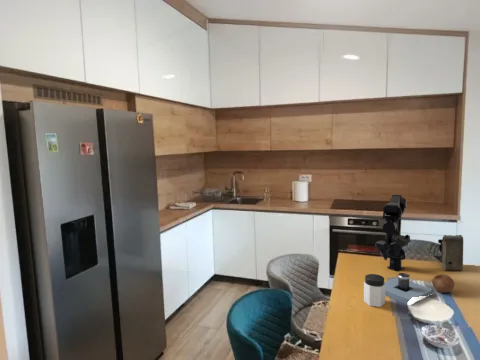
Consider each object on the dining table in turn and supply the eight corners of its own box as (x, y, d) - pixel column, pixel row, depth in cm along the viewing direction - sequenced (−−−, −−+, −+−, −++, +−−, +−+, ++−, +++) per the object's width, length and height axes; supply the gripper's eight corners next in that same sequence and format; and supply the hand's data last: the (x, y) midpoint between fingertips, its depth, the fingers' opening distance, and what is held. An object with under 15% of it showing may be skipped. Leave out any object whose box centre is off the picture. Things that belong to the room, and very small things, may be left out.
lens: (401, 289, 165) (402, 272, 164) (411, 293, 161) (411, 275, 160) (395, 292, 163) (396, 274, 161) (405, 296, 158) (405, 277, 157)
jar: (364, 305, 151) (364, 280, 150) (363, 297, 159) (363, 273, 157) (385, 308, 148) (386, 282, 147) (384, 299, 156) (384, 274, 155)
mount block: (397, 281, 174) (397, 277, 174) (432, 294, 159) (432, 289, 159) (375, 291, 165) (375, 286, 164) (410, 305, 149) (410, 300, 149)
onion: (436, 298, 161) (428, 282, 159) (436, 286, 168) (428, 270, 167) (458, 296, 156) (450, 279, 154) (456, 283, 163) (448, 267, 161)
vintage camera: (449, 262, 198) (449, 228, 197) (463, 271, 183) (463, 235, 181) (431, 262, 199) (431, 229, 198) (444, 271, 184) (444, 236, 182)
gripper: (395, 235, 161) (394, 267, 163) (417, 228, 171) (416, 258, 173) (374, 230, 170) (374, 260, 172) (397, 224, 180) (396, 252, 182)
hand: (391, 258), depth 175 cm, fingers open, 9 cm apart
